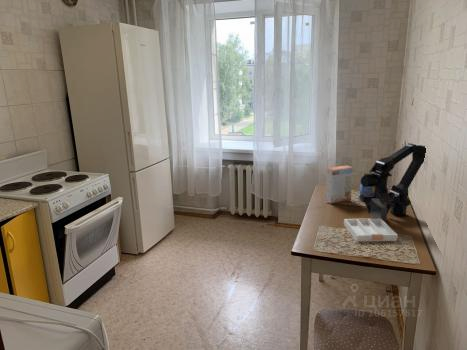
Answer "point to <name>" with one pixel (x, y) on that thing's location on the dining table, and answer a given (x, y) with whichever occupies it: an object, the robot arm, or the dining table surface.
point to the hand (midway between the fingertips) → (377, 213)
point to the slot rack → (370, 229)
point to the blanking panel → (378, 210)
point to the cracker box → (339, 184)
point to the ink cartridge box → (366, 190)
